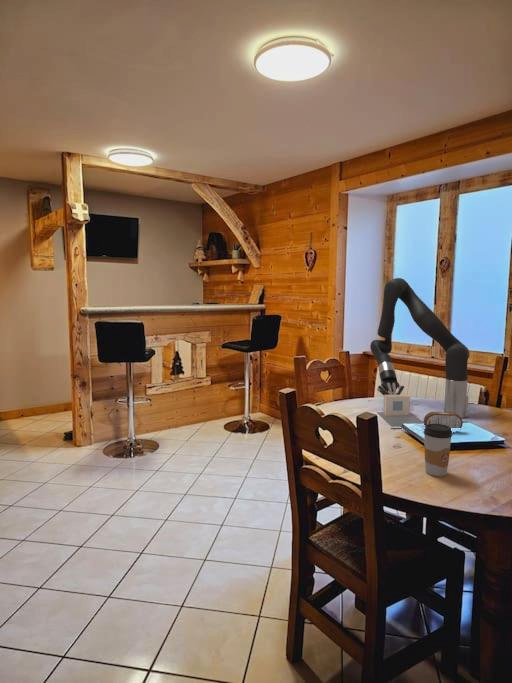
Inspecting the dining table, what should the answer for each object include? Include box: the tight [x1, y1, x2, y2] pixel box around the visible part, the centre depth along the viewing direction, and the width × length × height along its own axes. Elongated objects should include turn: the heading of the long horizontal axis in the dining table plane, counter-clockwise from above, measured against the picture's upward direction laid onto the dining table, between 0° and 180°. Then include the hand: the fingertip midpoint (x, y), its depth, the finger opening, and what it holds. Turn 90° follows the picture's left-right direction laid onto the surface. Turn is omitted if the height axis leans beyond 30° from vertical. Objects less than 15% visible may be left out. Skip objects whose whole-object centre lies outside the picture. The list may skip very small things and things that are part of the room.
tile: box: [383, 394, 411, 416], centre depth 203 cm, size 11×3×9 cm, turn 91°
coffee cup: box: [423, 424, 453, 477], centre depth 140 cm, size 8×8×15 cm
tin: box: [423, 411, 464, 429], centre depth 182 cm, size 15×3×8 cm, turn 84°
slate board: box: [376, 411, 424, 430], centre depth 197 cm, size 16×22×1 cm
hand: (394, 404), depth 206 cm, fingers closed
